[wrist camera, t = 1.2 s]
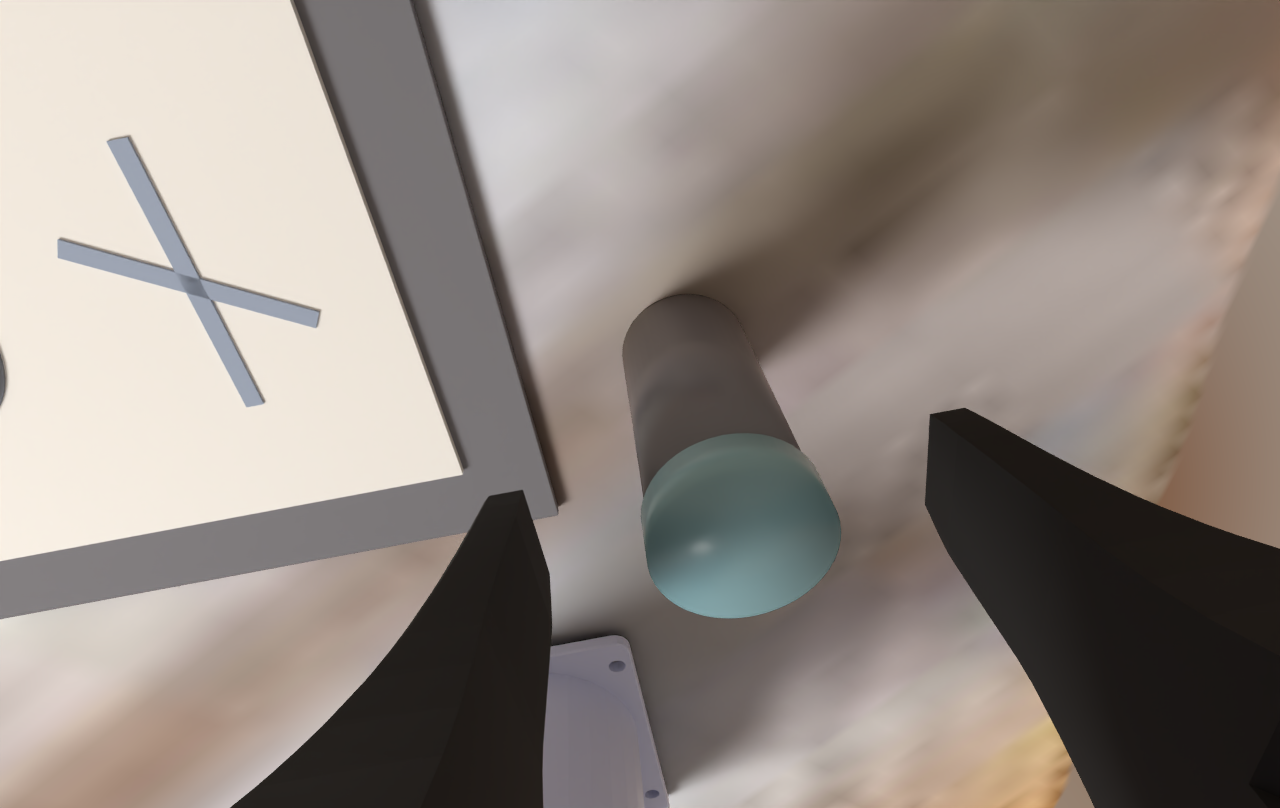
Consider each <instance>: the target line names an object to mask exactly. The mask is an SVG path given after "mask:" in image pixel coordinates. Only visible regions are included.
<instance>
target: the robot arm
mask: <svg viewBox="0 0 1280 808" xmlns="http://www.w3.org/2000/svg"><path fill="white" fill-rule="evenodd" d="M925 505H926V508H927V510H928V512H929V514H930V516H931V519H932V521H933V523H934V525H935V527H936V529H937V532H938V534H939V536H940V538H941V540H942V542H943V544H944V546H945V548H946V550H947V552H948V554H949V555H950V557H951V558H952V560H953V562H954V563H955V565H956V566H957V568H958V569H959V571H960V572H961V574H962V575H963V577H964V579H965V580H966V582H967V583H968V585H969V586H970V588H971V589H972V591H973V592H974V594H975V595H976V597H977V598H978V600H979V601H980V603H981V604H982V606H983V607H984V609H985V610H986V612H987V613H988V615H989V616H990V618H991V619H992V621H993V622H994V624H995V625H996V627H997V628H998V630H999V632H1000V633H1001V635H1002V636H1003V638H1004V639H1005V641H1006V642H1007V644H1008V645H1009V647H1010V648H1011V650H1012V651H1013V653H1014V654H1015V656H1016V657H1017V659H1018V660H1019V662H1020V664H1021V665H1022V667H1023V669H1024V670H1025V672H1026V674H1027V675H1028V677H1029V679H1030V680H1031V682H1032V684H1033V686H1034V688H1035V689H1036V691H1037V693H1038V695H1039V697H1040V699H1041V701H1042V703H1043V705H1044V707H1045V709H1046V710H1047V712H1048V714H1049V716H1050V718H1051V720H1052V722H1053V724H1054V726H1055V728H1056V730H1057V732H1058V733H1059V735H1060V737H1061V739H1062V741H1063V743H1064V746H1065V748H1066V750H1067V752H1068V754H1069V756H1070V758H1071V760H1072V762H1073V764H1074V766H1075V768H1076V770H1077V772H1078V774H1079V776H1080V778H1081V780H1082V782H1083V784H1084V786H1085V788H1086V790H1087V792H1088V794H1089V796H1090V799H1091V801H1092V803H1093V805H1094V807H1095V808H1280V549H1278V548H1276V547H1273V546H1269V545H1266V544H1263V543H1260V542H1257V541H1254V540H1251V539H1247V538H1244V537H1241V536H1238V535H1235V534H1232V533H1229V532H1226V531H1224V530H1221V529H1218V528H1215V527H1212V526H1209V525H1207V524H1204V523H1201V522H1199V521H1196V520H1194V519H1191V518H1189V517H1186V516H1184V515H1181V514H1178V513H1176V512H1173V511H1171V510H1168V509H1166V508H1163V507H1161V506H1158V505H1156V504H1154V503H1151V502H1149V501H1147V500H1144V499H1142V498H1140V497H1137V496H1135V495H1133V494H1131V493H1129V492H1127V491H1124V490H1122V489H1120V488H1118V487H1116V486H1114V485H1111V484H1109V483H1107V482H1105V481H1103V480H1101V479H1099V478H1097V477H1095V476H1093V475H1091V474H1089V473H1087V472H1085V471H1083V470H1081V469H1079V468H1077V467H1075V466H1073V465H1071V464H1069V463H1067V462H1065V461H1063V460H1061V459H1059V458H1057V457H1055V456H1054V455H1052V454H1050V453H1048V452H1046V451H1044V450H1042V449H1041V448H1039V447H1037V446H1035V445H1033V444H1031V443H1030V442H1028V441H1026V440H1024V439H1022V438H1020V437H1019V436H1017V435H1015V434H1013V433H1011V432H1010V431H1008V430H1006V429H1004V428H1002V427H1001V426H999V425H997V424H995V423H993V422H991V421H990V420H988V419H986V418H984V417H982V416H980V415H978V414H976V413H974V412H972V411H970V410H968V409H966V408H961V409H956V410H951V411H945V412H940V413H934V414H930V425H929V443H928V461H927V479H926V497H925ZM551 635H552V612H551V592H550V574H549V570H548V567H547V564H546V561H545V558H544V555H543V551H542V548H541V545H540V542H539V539H538V536H537V532H536V529H535V526H534V523H533V520H532V517H531V514H530V510H529V507H528V504H527V501H526V498H525V495H524V491H523V490H518V491H513V492H507V493H502V494H496V495H491V496H488V498H487V499H486V500H485V502H484V504H483V505H482V507H481V509H480V511H479V513H478V515H477V516H476V518H475V520H474V522H473V524H472V526H471V527H470V529H469V531H468V533H467V535H466V536H465V538H464V540H463V542H462V543H461V545H460V547H459V549H458V550H457V552H456V554H455V556H454V557H453V559H452V560H451V562H450V564H449V565H448V567H447V569H446V570H445V572H444V574H443V575H442V577H441V579H440V580H439V582H438V583H437V585H436V587H435V588H434V590H433V591H432V593H431V594H430V596H429V597H428V599H427V600H426V602H425V603H424V604H423V606H422V607H421V609H420V610H419V612H418V613H417V615H416V616H415V618H414V619H413V621H412V622H411V623H410V625H409V626H408V628H407V629H406V630H405V632H404V633H403V634H402V636H401V637H400V638H399V640H398V641H397V642H396V644H395V645H394V646H393V648H392V649H391V650H390V651H389V653H388V654H387V655H386V656H385V658H384V659H383V660H382V661H381V663H380V664H379V665H378V666H377V668H376V669H375V670H374V671H373V672H372V674H371V675H370V676H369V677H368V678H367V679H366V681H365V682H364V683H363V684H362V685H361V686H360V687H359V688H358V689H357V690H356V691H355V692H354V693H353V694H352V695H351V696H350V698H349V699H348V700H347V701H346V702H345V703H344V704H343V705H342V706H341V707H340V708H339V709H338V710H337V711H336V712H335V713H334V715H333V716H332V717H331V718H330V719H329V720H328V721H327V722H326V723H325V724H324V725H323V726H322V727H321V728H320V729H319V730H318V731H317V732H316V733H315V734H314V735H313V736H312V737H311V738H310V739H308V740H307V741H306V742H305V743H304V744H303V745H302V746H301V747H300V748H299V749H298V750H297V751H296V752H295V753H294V754H293V755H291V756H290V757H289V758H288V759H287V760H286V761H285V762H284V763H283V764H281V765H280V766H279V767H278V768H277V769H276V770H275V771H274V772H273V773H271V774H270V775H269V776H268V777H267V778H266V779H264V780H263V781H262V782H261V783H260V784H259V785H258V786H256V787H255V788H254V789H253V790H251V791H250V792H249V793H248V794H247V795H245V796H244V797H243V798H242V799H240V800H239V801H238V802H237V803H235V804H234V805H233V806H232V807H230V808H669V798H668V794H667V790H666V786H665V782H664V778H663V774H662V770H661V766H660V762H659V758H658V754H657V750H656V746H655V742H654V739H653V735H652V731H651V727H650V723H649V719H648V715H647V711H646V707H645V703H644V699H643V695H642V691H641V687H640V683H639V679H638V675H637V671H636V667H635V663H634V660H633V656H632V652H631V648H630V644H629V642H628V640H627V639H625V638H624V637H622V636H618V635H611V636H605V637H600V638H595V639H589V640H584V641H578V642H573V643H567V644H562V645H557V646H551ZM614 661H618V662H614Z"/></svg>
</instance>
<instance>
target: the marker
mask: <svg viewBox="0 0 1280 808" xmlns="http://www.w3.org/2000/svg"><path fill="white" fill-rule="evenodd" d="M622 357H623V364H624V371H625V378H626V384H627V391H628V398H629V404H630V411H631V418H632V424H633V431H634V438H635V444H636V451H637V458H638V464H639V471H640V478H641V484H642V491H643V497H644V498H643V502H642V507H641V522H642V530H643V537H644V544H645V551H646V558H647V565H648V569H649V573H650V576H651V578H652V580H653V582H654V584H655V585H656V586H657V588H658V589H659V590H660V592H661V593H662V594H663V595H664V596H665V597H666V598H667V599H669V600H670V601H671V602H673V603H674V604H676V605H677V606H679V607H681V608H683V609H685V610H688V611H690V612H693V613H695V614H699V615H703V616H708V617H715V618H743V617H751V616H756V615H760V614H764V613H767V612H770V611H773V610H776V609H778V608H781V607H783V606H785V605H787V604H789V603H791V602H793V601H795V600H797V599H798V598H800V597H801V596H803V595H804V594H805V593H807V592H808V591H809V590H810V589H812V588H813V587H814V586H815V585H816V584H817V583H818V582H819V581H820V580H821V579H822V578H823V577H824V575H825V574H826V573H827V571H828V570H829V569H830V567H831V565H832V563H833V562H834V560H835V557H836V555H837V552H838V550H839V545H840V541H841V526H840V520H839V516H838V513H837V511H836V509H835V507H834V505H833V503H832V501H831V498H830V496H829V494H828V492H827V490H826V488H825V486H824V484H823V482H822V480H821V478H820V476H819V474H818V472H817V470H816V468H815V466H814V465H813V464H812V462H811V461H810V460H809V458H808V457H807V456H806V455H805V454H803V453H802V452H801V450H800V448H799V446H798V444H797V442H796V440H795V438H794V436H793V433H792V431H791V429H790V427H789V425H788V423H787V421H786V419H785V417H784V415H783V413H782V411H781V408H780V406H779V404H778V402H777V400H776V398H775V396H774V394H773V392H772V390H771V388H770V385H769V383H768V381H767V379H766V377H765V375H764V373H763V371H762V369H761V367H760V365H759V363H758V360H757V358H756V356H755V354H754V352H753V350H752V348H751V346H750V344H749V342H748V340H747V337H746V335H745V333H744V331H743V329H742V327H741V325H740V323H739V321H738V319H737V318H736V317H735V315H734V314H733V313H732V312H731V311H730V310H729V309H728V308H727V307H725V306H724V305H723V304H721V303H720V302H718V301H716V300H714V299H711V298H709V297H705V296H701V295H693V294H684V295H676V296H672V297H668V298H665V299H662V300H660V301H658V302H656V303H654V304H652V305H651V306H649V307H648V308H646V309H645V310H644V311H643V312H642V313H641V314H639V316H638V317H637V318H636V319H635V320H634V321H633V323H632V324H631V326H630V328H629V330H628V332H627V334H626V337H625V340H624V344H623V354H622Z"/></svg>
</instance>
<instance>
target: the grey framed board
mask: <svg viewBox="0 0 1280 808" xmlns="http://www.w3.org/2000/svg"><path fill="white" fill-rule="evenodd" d="M518 490H523V491H524V495H525V498H526V501H527V504H528V507H529V510H530V514H531V517H532V520H535V519H541V518H546V517H551V516H557V515H558V505H557V502H556V498H555V495H554V491H553V488H552V484H551V481H550V477H549V474H548V470H547V467H546V463H545V460H544V456H543V453H542V449H541V446H540V442H539V439H538V435H537V432H536V429H535V425H534V422H533V418H532V415H531V411H530V408H529V404H528V401H527V397H526V394H525V390H524V387H523V383H522V380H521V376H520V373H519V369H518V366H517V362H516V359H515V355H514V352H513V348H512V345H511V342H510V338H509V335H508V331H507V328H506V324H505V321H504V317H503V314H502V310H501V307H500V303H499V300H498V296H497V293H496V289H495V286H494V282H493V279H492V275H491V272H490V268H489V265H488V261H487V258H486V255H485V251H484V248H483V244H482V241H481V237H480V234H479V230H478V227H477V223H476V220H475V216H474V213H473V209H472V206H471V202H470V199H469V195H468V192H467V188H466V185H465V181H464V178H463V174H462V171H461V168H460V164H459V161H458V157H457V154H456V150H455V147H454V143H453V140H452V136H451V133H450V129H449V126H448V122H447V119H446V115H445V112H444V108H443V105H442V101H441V98H440V94H439V91H438V87H437V84H436V81H435V77H434V74H433V70H432V67H431V63H430V60H429V56H428V53H427V49H426V46H425V42H424V39H423V35H422V32H421V28H420V25H419V21H418V18H417V14H416V11H415V7H414V4H413V1H412V0H0V619H4V618H9V617H15V616H20V615H25V614H31V613H36V612H41V611H47V610H52V609H57V608H63V607H68V606H74V605H79V604H84V603H90V602H95V601H100V600H106V599H111V598H117V597H122V596H127V595H133V594H138V593H143V592H149V591H154V590H159V589H165V588H170V587H176V586H181V585H186V584H192V583H197V582H202V581H208V580H213V579H218V578H224V577H229V576H235V575H240V574H245V573H251V572H256V571H261V570H267V569H272V568H278V567H283V566H288V565H294V564H299V563H304V562H310V561H315V560H320V559H326V558H331V557H337V556H342V555H347V554H353V553H358V552H363V551H369V550H374V549H379V548H385V547H390V546H396V545H401V544H406V543H412V542H417V541H422V540H428V539H433V538H439V537H444V536H449V535H455V534H460V533H465V532H468V531H469V529H470V527H471V526H472V524H473V522H474V520H475V518H476V516H477V515H478V513H479V511H480V509H481V507H482V505H483V504H484V502H485V500H486V499H487V498H488V496H491V495H496V494H502V493H507V492H513V491H518Z"/></svg>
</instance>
